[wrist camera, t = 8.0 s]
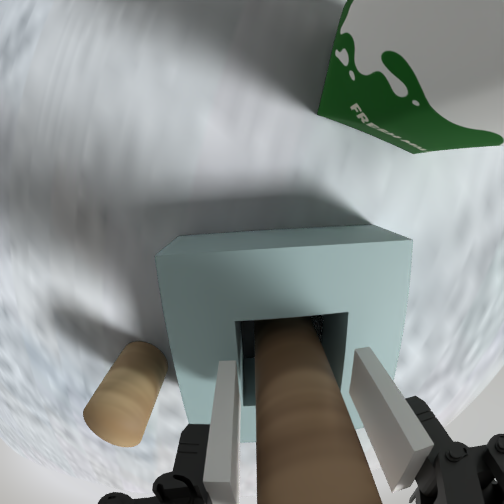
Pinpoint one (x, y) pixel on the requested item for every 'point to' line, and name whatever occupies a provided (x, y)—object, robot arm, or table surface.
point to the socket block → (280, 302)
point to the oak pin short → (127, 395)
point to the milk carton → (419, 72)
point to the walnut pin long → (304, 422)
